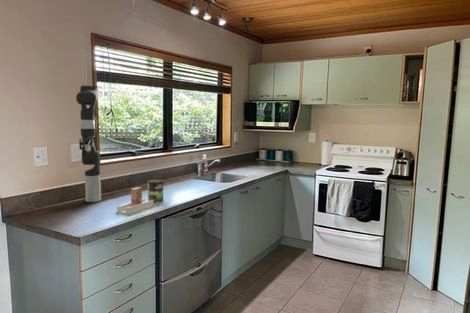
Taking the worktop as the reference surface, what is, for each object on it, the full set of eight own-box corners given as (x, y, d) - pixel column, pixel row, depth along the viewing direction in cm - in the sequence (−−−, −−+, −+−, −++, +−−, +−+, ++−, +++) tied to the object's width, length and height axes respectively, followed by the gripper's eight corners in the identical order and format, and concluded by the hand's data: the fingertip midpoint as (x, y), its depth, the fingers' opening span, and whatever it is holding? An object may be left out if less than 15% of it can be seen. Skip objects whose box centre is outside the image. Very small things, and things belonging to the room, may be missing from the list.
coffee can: (166, 201, 227) (166, 180, 226) (153, 204, 220) (153, 182, 218) (157, 198, 234) (157, 178, 233) (144, 201, 227) (144, 180, 225)
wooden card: (135, 209, 205) (134, 189, 204) (131, 208, 206) (131, 188, 205) (142, 206, 210) (141, 187, 209) (138, 206, 212) (138, 187, 210)
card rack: (129, 215, 196) (128, 208, 195) (116, 212, 200) (116, 206, 200) (154, 206, 215) (154, 200, 215) (142, 204, 220) (142, 198, 219)
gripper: (88, 127, 203) (89, 154, 205) (74, 128, 189) (75, 157, 191) (100, 127, 202) (101, 154, 204) (87, 128, 188) (88, 157, 190)
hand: (88, 155), depth 198 cm, fingers open, 8 cm apart
